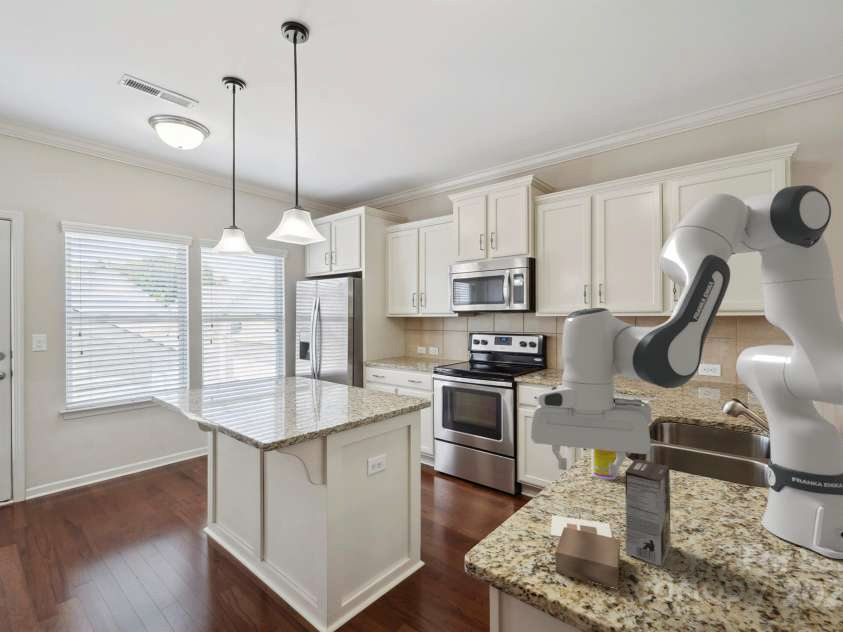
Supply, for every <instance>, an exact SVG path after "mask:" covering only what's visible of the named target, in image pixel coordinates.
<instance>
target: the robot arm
mask: <svg viewBox="0 0 843 632" xmlns="http://www.w3.org/2000/svg"><path fill="white" fill-rule="evenodd" d="M831 217H832V207H831V202H830V200H829V199H828V197H827V195H826V194H825V193H824V191H823V192H822V190H820V189H818V187H816V186H813V185H807V184H806V185H805V184H804V185H794V186H787V187H784V188H782V189H778V190H775V191H773V190H772V191H768V192H764V193H761V194H760V193H759V194H756V195H752V196H750V197H747V198H746V199H743V200H741V199H740V198H738V197H737V196H734V195H732V194H727V193H715V194H710V195H708V196H705V197H704V198H702V199H700V200H699V201H698V202H697V203H696V204H695V205H694V206H693V207H691V209H690V210H689V211H688V212H687V213H686V214H685V216H684V217H682V218H681V220H680V221H679V222H678V224H677V225H676V227H675V228H674V229H673V231H672V232H671V233H670V235H669V236H668V238H666V241H664V244H663V246H662V248H661V250H660V254H659V257H658V260H659V265H660V269H661V270H662V272H663V273H664V275H665V276H666V277H667V278H668V279H669V280H671V281H672V282H673V283H675V284H676V285H678V286H680V287H681V288H683V290H682V292H681V294H680V296H679V299H678V300H677V303H676V305H675V307H674V309H673V311H672V313H671V315H670V317H669V318H668V319H667V320H666V321H665V322H662V323H661V324H658V325H655V326H633V325H632V324H630V323H628V322H624V321H622V320H620V318H618V317H616V316H615V315H613V314H612V313H611V311H610V310H609V309H608V308H605V307H593V308H592V307H591V308H584V309H579V310H575V311H573V312H571V313H570V314H569V313H568V315H567V316H566V318H565V320H564V324H563V327H562V328H563V330H562V341H561V344H562V345H561V357H562V360H563V367H564V369H563V373H562V376H561V378H562V379H561V384H559V385H555V386H551V387H548V388H544V389H541V390H540V391H539V393H538V394H537V402H538V403H537V405H536V406H535V409H534V411H533V415H532V420H531V426H530V439H531V440H532V442H533V443H534V444H537V445H539V444H540V445H549V446H551V451H552V453H553V455H554V456H555V459H556V460H557V461H558V464H557V465H558V467H557V469H558V470H559V471H560V470H563V471H567V470H568V469H567V468H568V467H567V463H568V462H567V461H568V459H567V458H566V457H562V454H561V453H560V452H561V447H567V448H577V449H579V448H580V449H589V450H591V449H597V450H608V451H616V460H615V462H614V463H609V474H610V475H612V476H616V477H619V476H620V471H619V470H620V467H621V466H622V464H623V463H624V462H625V460H626V455H627V454H628V453H629V454H641V455H646V454H648V452H649V451H650V450H651V448H652V446H651V445H652V444H651V435H650V434H651V433H650V429H649V424H650V423H651V422H652V409H651V407H650V405H649V404H648V403H646V402H644V401H643V400H642V399H640V398H639V399H637V398H633V399H630V398H623V397H620V398H619V397H615V391H614V390H615V386H614V385H615V384H614V383H615V381H614V377H615V376H616V375H617V376H620V377H621V376H622V377H626V378H628V379H633V380H638V381H643V382H646V383H648V384H652V385H655V386H657V387H661V388H665V389H674V388H678V387H681V386H683V385H685V384H686V383H688V382H689V381H690V380H691V379H692V378H693V377H694V376H695V375H696V373H697V372H698V370H699V367H700V364H701V361H702V357H703V356H702V355H703V350H704V345H705V342H706V339H707V337H708V335H709V332H710V330H711V328H712V326H713V323H714V321H715V318H716V316H717V315H718V312H719V310H720V307H721V304H722V302H723V301H724V298H725V297H726V293H727V290H728V287H729V286H730V285H729V284H730V281H731V269H730V267H729V264H728V262H729V260H730V258H731V256H732V255H735V254H747V253H755V252H756V253H757V252H759V254H760V256H761V264H760V272H761V273H760V275H761V277H760V279H761V289H762V299H763V300H762V302H763V309H764V310H763V311H764V312H763V313H764V316H765V319H766V320H767V322H769V323H770V324H771V325H773V326H774V327H777V328H779V329H781V330H782V331H783V332H785V334H786V335H787V336H788V338H789V339H790V340H791V342H792V344H793V345H787V344H786V345H785V344H784V345H783V344H765V345H756V346H751V347H747V348H745V349H743V351H741V353H740V354H739V355H738V357H737V360H736V362H735V363H736V364H735V371H736V374H737V376H738V378H739V380H740V382H741V383H742V384H744V385H745V386H746V387H747V388H748V389H749V390H750V391H751V392H752V393H753V394H754V396H755V397H756V399H757V401H758V402H759V403H760V405H761V408H762V409H763V411H764V414H765V417H766V419H767V423H768V424H767V425H768V429H769V445H770V458H768V462H767V470H766V471H767V474H766V475H767V482H768V483H767V484H768V486H769V492H768V496H767V503H766V507H765V511H764V514H763V516H762V519H761V520H760V522H761V524H762V527H764V529H765V530H767V531H768V532H769V533H771V534H773V535H774V536H777V537H779V538H781V539H782V540H785V541H788V542H789V543H792V544H795V545H799V546H801V547H804V548H807V549H810V550H812V551H814V552H816V553H818V554H821V555H823V556H825V557H828V558H831V559H839V560H843V435H842V433H841V431H840V429H839V428H838V427H837V426H835V425H834V424H833V423H832V422H830V421H829V420H827V418H824V416H822V414H820V413H819V411H818V410H817V408H816V407H815V404H814V402H819V403H826V404H831V405H838V406H843V321H842V318H841V316H840V313H839V308H838V303H837V302H838V301H837V298H836V288H835V279H834V270H833V264H832V259H831V254H830V250H829V248H828V245H827V242H826V239H825V237H824V233H825V231H826V229H827V228H828V226H829V223H830V220H831ZM813 401H814V402H813Z"/></svg>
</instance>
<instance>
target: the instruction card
mask: <svg viewBox="0 0 843 632" xmlns="http://www.w3.org/2000/svg"><path fill="white" fill-rule="evenodd" d="M564 527H566V528H571V529H575V530H580V531H584V532H589V533H593V534H598V535H602V536H606V537H611V538H613V534H612V529H611V525H610V523H605V522H600V521H595V520H594V521H592V520H586V519H579V518H572V517H567V516H560V515H551V525H550V537H551V536H552V537H557V538H561V535H562V532H563V529H564Z"/></svg>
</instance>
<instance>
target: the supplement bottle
mask: <svg viewBox="0 0 843 632" xmlns="http://www.w3.org/2000/svg"><path fill="white" fill-rule="evenodd" d="M616 459H617V455H616V451H608V450H597V449H590V472H591V476H592V477H594V478H596V479H600V480H605V481H612V480H616V479H617V476H612V475H610V474H609V463H614V462H615V460H616Z"/></svg>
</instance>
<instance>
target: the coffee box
mask: <svg viewBox="0 0 843 632" xmlns="http://www.w3.org/2000/svg"><path fill="white" fill-rule="evenodd" d="M624 474H625V479H624V482H625V483H624V484H625V487H624V488H625V491H624V492H625V555H626V556H628V555H630V556H629V557H631V556H634V557H637V558H640V559H643V560H646V561H648V562H647V563H649V562H651V563H650V564H652V563H654V564H653V565H655V564H657V565H660V566H659V567H663V565H664V563H665V562H666V561H665V560H666V558H667V555H668V553H669V551H670V548H671V487H670V486H671V483H670V482H671V480H670V475H671V474H670V465H667V464H666V465H665V464H660V463H657V462H653V461H648V460H643V459H638V458H635V459H634V460H633V462H632V463H631V464H630V465H629V466H628V468H627V469H626V470H625V472H624ZM634 557H633V558H634ZM637 558H636V559H637ZM640 559H639V560H640ZM643 560H642V561H643ZM646 561H645V562H646ZM657 565H656V566H657Z"/></svg>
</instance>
